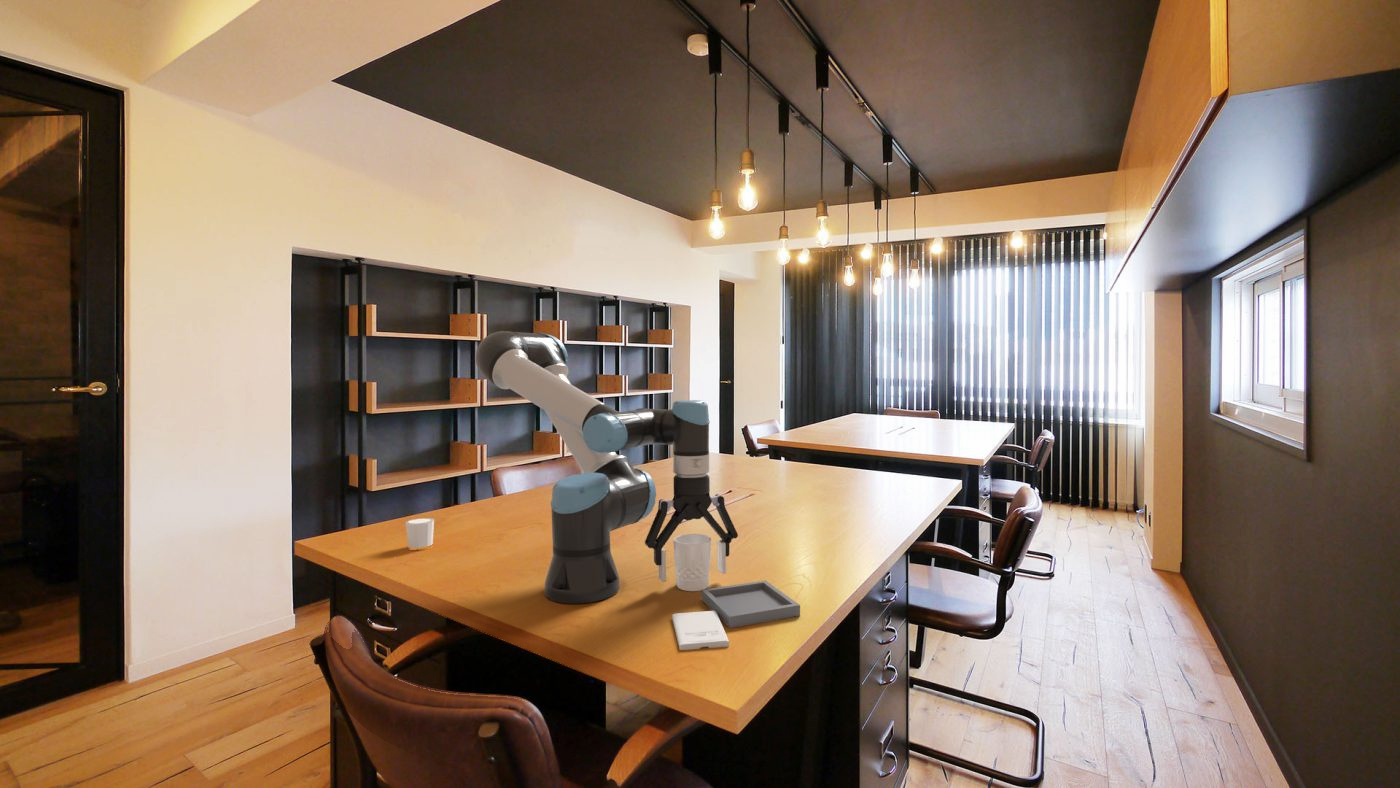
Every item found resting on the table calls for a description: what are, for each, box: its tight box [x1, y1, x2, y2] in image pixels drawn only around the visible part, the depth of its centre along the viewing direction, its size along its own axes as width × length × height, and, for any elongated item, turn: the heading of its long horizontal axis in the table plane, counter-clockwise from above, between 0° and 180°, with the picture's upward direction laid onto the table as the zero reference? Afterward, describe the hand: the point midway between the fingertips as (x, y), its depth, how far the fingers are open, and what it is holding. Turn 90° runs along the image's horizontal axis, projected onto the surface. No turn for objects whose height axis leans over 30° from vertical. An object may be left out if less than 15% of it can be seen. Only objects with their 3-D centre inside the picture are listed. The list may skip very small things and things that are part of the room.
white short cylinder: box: [405, 517, 435, 548], centre depth 157 cm, size 7×7×7 cm
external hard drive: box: [671, 610, 730, 651], centre depth 104 cm, size 2×8×12 cm
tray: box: [701, 580, 801, 629], centre depth 115 cm, size 14×14×2 cm
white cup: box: [673, 533, 712, 592], centre depth 127 cm, size 8×8×10 cm
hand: (692, 576), depth 127 cm, fingers open, 12 cm apart
